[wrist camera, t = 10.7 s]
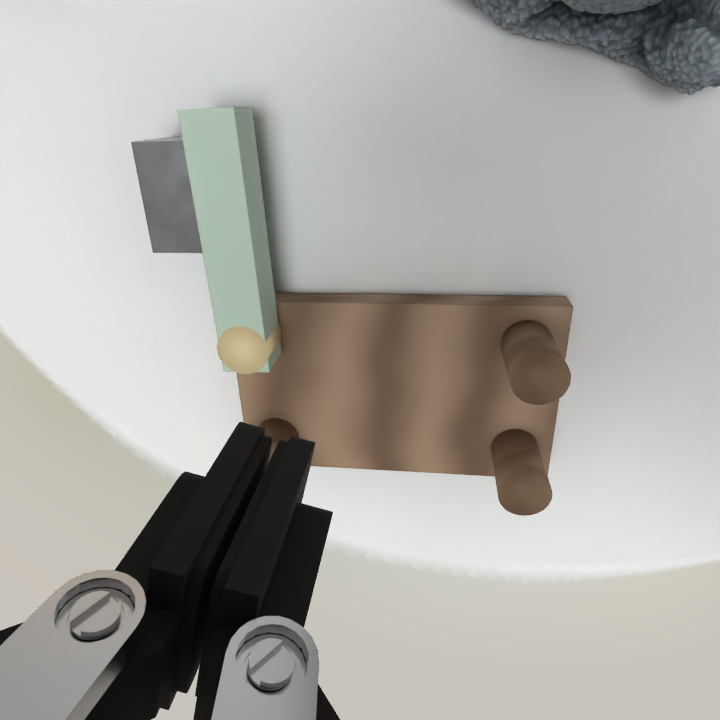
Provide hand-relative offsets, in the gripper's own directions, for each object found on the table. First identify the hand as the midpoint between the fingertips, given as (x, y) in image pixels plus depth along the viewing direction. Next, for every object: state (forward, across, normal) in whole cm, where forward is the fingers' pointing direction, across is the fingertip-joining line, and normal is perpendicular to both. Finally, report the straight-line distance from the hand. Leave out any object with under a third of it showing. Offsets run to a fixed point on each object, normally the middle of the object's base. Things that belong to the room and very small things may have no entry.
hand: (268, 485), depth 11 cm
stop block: (+25, +12, 0) cm, 28 cm away
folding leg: (+23, +8, +2) cm, 24 cm away
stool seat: (+25, -4, +10) cm, 27 cm away
